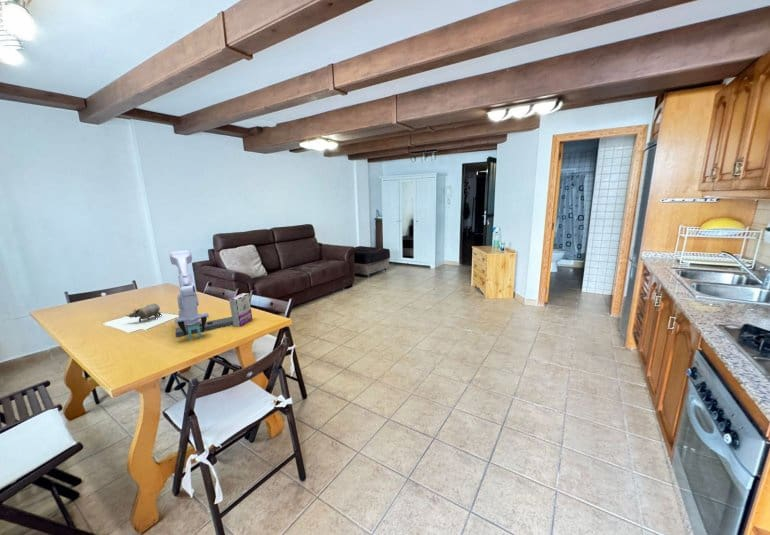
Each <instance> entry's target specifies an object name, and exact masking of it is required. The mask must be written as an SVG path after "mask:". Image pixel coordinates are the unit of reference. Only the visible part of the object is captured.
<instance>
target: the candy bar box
mask: <svg viewBox="0 0 770 535" xmlns="http://www.w3.org/2000/svg"><path fill="white" fill-rule="evenodd" d="M228 301H229V307H230V313H231V314H230V315H231V317H232V321H233V325H232V326H233V327H236V326H239V328H241V327H243V326H244V325H246V324H247V323H249V322H251V321H252V320H253V314H252V307H251V300H250V293H249V292H248V293H246V292H245V293H240V294H238V295H235V296H233V297H231V298H229V299H228Z"/></svg>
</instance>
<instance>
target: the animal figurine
mask: <svg viewBox="0 0 770 535" xmlns="http://www.w3.org/2000/svg"><path fill="white" fill-rule="evenodd" d="M124 315H125V316H126V317H128V318H138V321H140V322H142V321H141V320H146V319H147V320H148V321H149V320H150V321H151V317H154V319H155V318H158V317H159V316H160V315H161V316H163V315H162V313H161V312H160V306H159V305H158V304H157V303H151V304H148V305H146V306H145V307H141V308H137V309H136V308H133V310H132V312H131V313H129V314H124ZM161 316H160V317H161ZM148 321H147V322H148Z"/></svg>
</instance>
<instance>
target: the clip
mask: <svg viewBox="0 0 770 535" xmlns="http://www.w3.org/2000/svg"><path fill="white" fill-rule="evenodd" d="M196 324H197V325H192V326H188V325H186V326H187V328H188V334H189V335H188V339H189V341H191V340H193V334H191V330H194V329H197V331H198V333H197V336H198V338H199V339H200V338H202V334H201V333H202V332H200V326H199V324H198V323H196Z"/></svg>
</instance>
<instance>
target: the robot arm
mask: <svg viewBox="0 0 770 535" xmlns="http://www.w3.org/2000/svg"><path fill="white" fill-rule="evenodd" d="M168 254H169V261H170V263H171V265H174V266H175V267H177V270H178V277H177V278H178V283H179V288H178V289H179V294H178V295H177V306H178V309H179V310H178V311H177V312H178V318H174V324H175V325H178V327H180V328H181V329H182V331H183V332H184V335H185V336H184V337H186V336H188V335H187V334H186V330H185V326H188V325H193V324H198V323H202V332H201V333H204V332H205V331H204V327H205V323H206V322H207V319H208V318H209V313H208V312H205V313H204V312H203V313H199V311H198V307H199V297H198V294H197V291H196V286H195V284H194V282H193V276H192V274H191V273H189V269H188V268H189V266H188V264H191V263H192V262H193V256H192V251H191V249H184V250H183V249H182V250H173V251H169V253H168Z"/></svg>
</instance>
